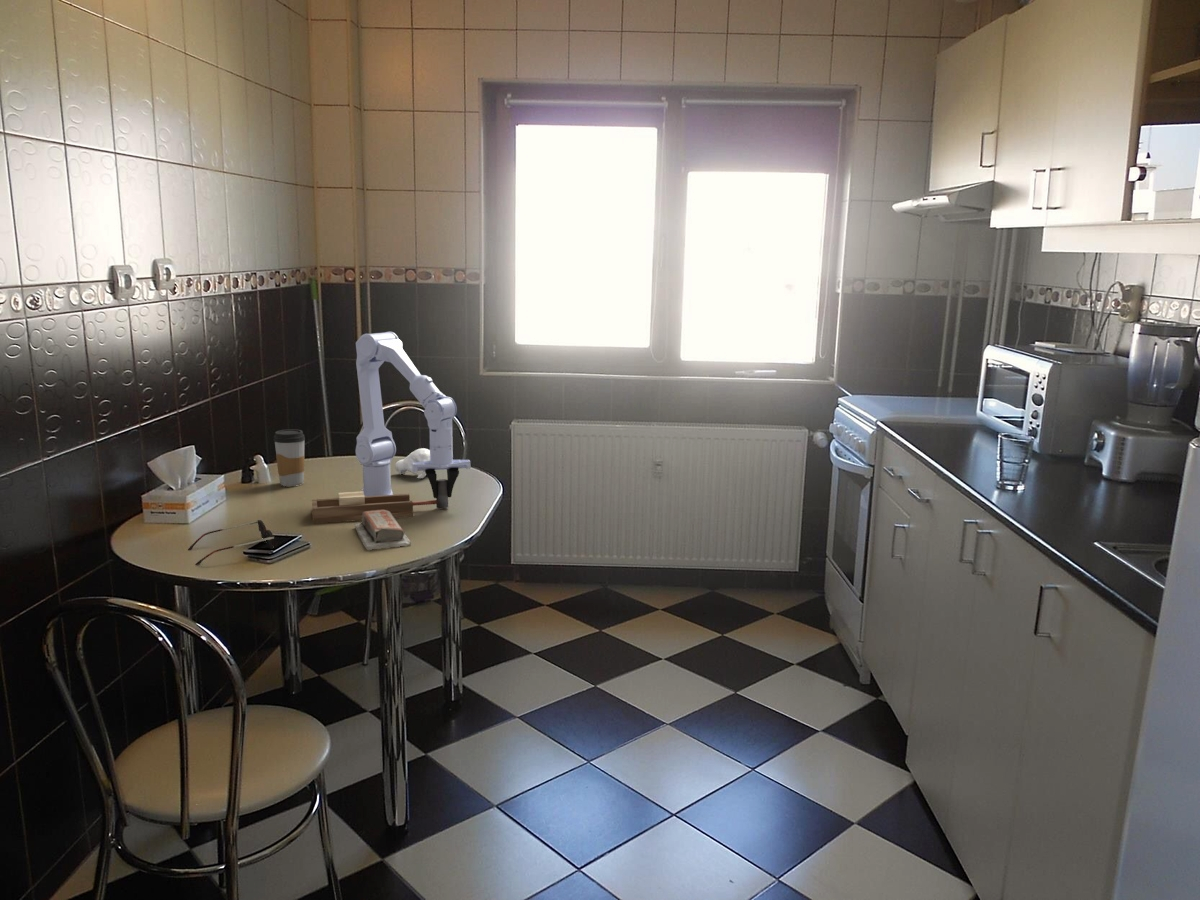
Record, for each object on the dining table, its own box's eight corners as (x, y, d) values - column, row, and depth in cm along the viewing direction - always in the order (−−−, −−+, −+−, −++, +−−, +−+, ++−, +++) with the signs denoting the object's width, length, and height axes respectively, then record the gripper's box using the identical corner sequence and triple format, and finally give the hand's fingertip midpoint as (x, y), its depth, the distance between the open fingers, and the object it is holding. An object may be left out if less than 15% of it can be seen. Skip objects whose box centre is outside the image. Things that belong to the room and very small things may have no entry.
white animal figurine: (425, 450, 258) (388, 451, 262) (428, 479, 260) (391, 479, 263) (435, 446, 264) (399, 447, 268) (438, 474, 266) (402, 474, 269)
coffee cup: (313, 483, 254) (311, 431, 251) (289, 489, 247) (286, 436, 244) (294, 478, 259) (291, 427, 255) (269, 484, 252) (266, 432, 249)
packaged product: (353, 510, 214) (395, 506, 218) (353, 529, 215) (395, 525, 219) (366, 531, 198) (411, 527, 202) (367, 552, 199) (411, 547, 203)
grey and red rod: (339, 511, 226) (338, 484, 225) (446, 503, 235) (446, 477, 233) (340, 516, 222) (339, 489, 220) (449, 509, 230) (449, 482, 229)
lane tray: (312, 512, 227) (311, 498, 226) (408, 505, 234) (408, 492, 234) (313, 523, 218) (312, 509, 217) (413, 516, 225) (413, 503, 224)
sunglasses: (276, 556, 196) (273, 534, 195) (197, 573, 188) (193, 550, 186) (262, 538, 207) (259, 518, 206) (187, 553, 199) (183, 532, 198)
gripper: (414, 449, 223) (415, 502, 225) (472, 447, 227) (473, 498, 230) (410, 444, 229) (412, 495, 232) (467, 441, 234) (468, 491, 236)
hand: (442, 496), depth 231 cm, fingers closed on grey and red rod, 3 cm apart
